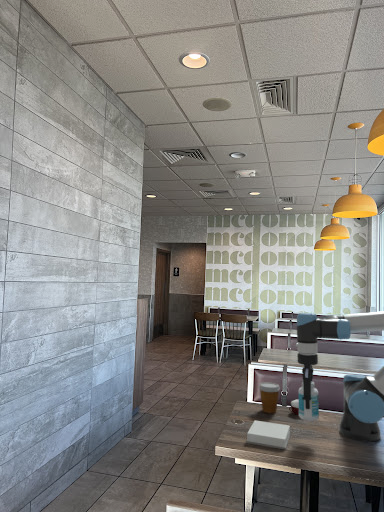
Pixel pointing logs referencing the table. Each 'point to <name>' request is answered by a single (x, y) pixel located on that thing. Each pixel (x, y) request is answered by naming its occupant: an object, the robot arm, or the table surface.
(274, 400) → the disposable coffee cup
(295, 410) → the cocoa
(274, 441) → the block
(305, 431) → the table surface
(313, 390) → the pill bottle
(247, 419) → the table surface
